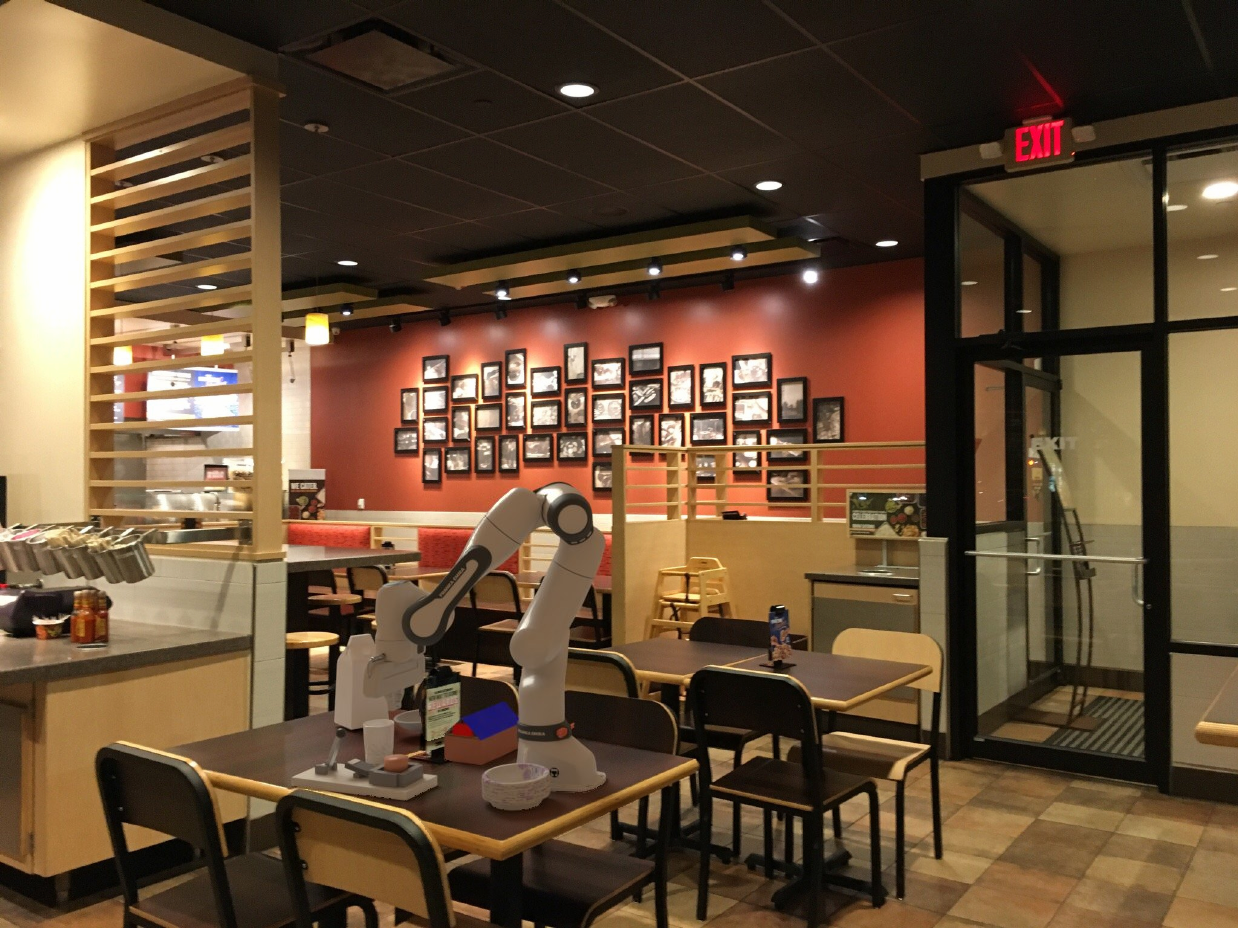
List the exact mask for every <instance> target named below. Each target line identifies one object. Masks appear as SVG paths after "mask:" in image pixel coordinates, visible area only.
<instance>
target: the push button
mask: <svg viewBox="0 0 1238 928" xmlns="http://www.w3.org/2000/svg"><path fill="white" fill-rule="evenodd" d="M408 762H409V755H407V754H400V753H399V754H395V753H394V754H393V755H389V756H386V757H384V771H388V772H396V773H401V772H403V771H405V770H407V769H408Z"/></svg>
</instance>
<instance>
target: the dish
mask: <svg viewBox="0 0 1238 928" xmlns="http://www.w3.org/2000/svg"><path fill="white" fill-rule="evenodd" d="M393 721H394V723H397V724H398V725H399V726H400V727H401V728H402V729H404V730H406V731H409V732H413V733H420V734H421V729H422V723H421V717H420V716H419V709H415V710H414V709H413V710H409V711H405V712H401V713H399V714H397V715H395V716H393Z"/></svg>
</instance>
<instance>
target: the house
mask: <svg viewBox="0 0 1238 928" xmlns="http://www.w3.org/2000/svg"><path fill="white" fill-rule="evenodd" d="M518 720H519V715H517V714H516V713H515V712H514V711H513V709H511V708H510V706H509V705H508V704H507V703H506V702H505V701H501V702H499V703H496V704H494V705H491V706H489V707H487V708H486V707H485V708H484V709H481V710H478V711H476V712H474V713H472V714H469V715H466V716H464V717H461V718H460V719H458V720H457V722H456V723H455V724H453V725H452V726H451V727H450V728H449V729H448V730H446V732H444V734H445V735H444V734H442V735H443V737H444V738H443V739H444V740H443V741H444V743H443V745H444V746H443V747H444V748H443V749H444V760H445V759H446V760H445V761H447V760H449V762H450V761H451V762H455V763H462V764H469V765H472V764H473V765H479V766H483V765H485V764H487V763H490V762H491V761H494V760H497V759H499V758H501V757H503V756H505V755H507V754H509V753H511V752H513V751H515V750H518V741H517V721H518Z"/></svg>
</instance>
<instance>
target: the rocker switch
mask: <svg viewBox="0 0 1238 928" xmlns="http://www.w3.org/2000/svg"><path fill="white" fill-rule="evenodd" d="M344 764H345V767H344V768H346V769H349V770H351V771H354V772H357V773H359V774H362V775H364V776H368V775H369V770H371V769H373V768H375V767H377V766H378V765H372V764H369V763H367V762H366V761H364V760H361V759H358V758H353V759H351V760H348V761H347V762H345V763H344Z"/></svg>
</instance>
